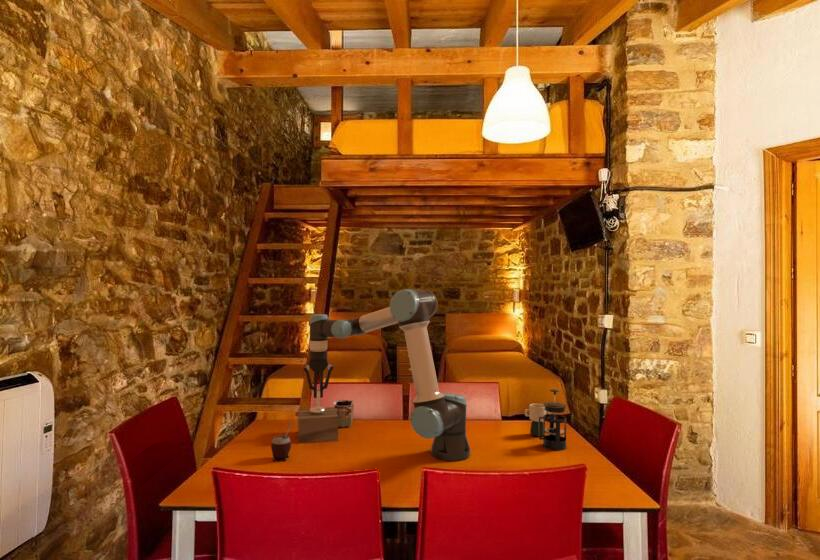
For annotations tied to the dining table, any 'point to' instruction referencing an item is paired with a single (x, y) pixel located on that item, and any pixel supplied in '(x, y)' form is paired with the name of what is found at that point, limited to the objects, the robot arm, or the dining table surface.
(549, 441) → the french press
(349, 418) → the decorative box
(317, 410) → the steel pin
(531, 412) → the character mug
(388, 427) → the dining table surface
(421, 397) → the robot arm
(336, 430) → the hitch block
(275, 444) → the mate gourd
